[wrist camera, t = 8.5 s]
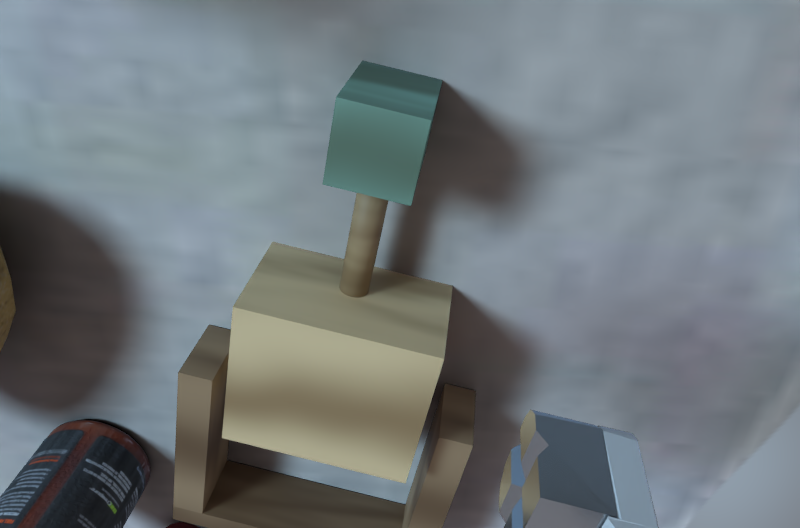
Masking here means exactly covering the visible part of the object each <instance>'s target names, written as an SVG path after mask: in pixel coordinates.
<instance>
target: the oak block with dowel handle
mask: <svg viewBox="0 0 800 528" xmlns="http://www.w3.org/2000/svg"><path fill="white" fill-rule="evenodd" d="M442 81H443V80H440V79H436V78H432V77H427V76H423V75H419V74H415V73H411V72H407V71H403V70H399V69H395V68H391V67H386V66H382V65H378V64H374V63H370V62H366V61H362V62H361V63H360V65H359V66H358V68H357V69H356V70H355V72H354V73H353V75H352V76H351V77H350V79H349V80H348V81H347V83H346V84H345V86H344V87H343V88H342V90H341V91H340V93H339V94H338V95H337V97H336V102H335V108H334V115H333V121H332V128H331V134H330V140H329V147H328V153H327V160H326V166H325V173H324V179H323V185H327V186H331V187H336V188H340V189H344V190H348V191H352V192H356V193H357V195H356V200H355V206H354V211H353V216H352V222H351V227H350V232H349V238H348V243H347V248H346V254H345V259H341V258H337V257H333V256H329V255H325V254H320V253H316V252H312V251H308V250H304V249H300V248H296V247H292V246H288V245H284V244H280V243H276V242H272V244H271V245H270V247H269V249H268V250H267V252H266V254H265V255H264V257H263V259H262V260H261V262H260V263H259V265H258V267H257V268H256V270H255V272H254V273H253V275H252V277H251V278H250V280H249V281H248V283H247V285H246V286H245V288H244V290H243V291H242V293H241V295H240V296H239V298H238V299H237V301H236V303H235V304H234V306H233V312H232V323H231V335H230V347H229V359H228V371H227V383H226V395H225V407H224V419H223V431H222V438H224V439H228V440H232V441H236V442H240V443H244V444H248V445H252V446H256V447H260V448H264V449H268V450H272V451H276V452H280V453H284V454H288V455H292V456H296V457H300V458H305V459H309V460H313V461H317V462H321V463H325V464H329V465H333V466H337V467H341V468H345V469H349V470H353V471H357V472H361V473H365V474H369V475H373V476H377V477H381V478H385V479H389V480H393V481H397V482H401V483H406V480H407V477H408V474H409V471H410V467H411V464H412V461H413V458H414V455H415V451H416V448H417V445H418V442H419V439H420V435H421V432H422V429H423V426H424V423H425V419H426V416H427V413H428V410H429V407H430V403H431V400H432V397H433V394H434V391H435V387H436V384H437V381H438V378H439V375H440V371H441V368H442V365H443V362H444V358H445V349H446V341H447V332H448V324H449V315H450V306H451V298H452V289H453V286H451V285H447V284H443V283H439V282H435V281H431V280H426V279H422V278H418V277H414V276H410V275H406V274H402V273H398V272H394V271H390V270H386V269H382V268H378V267H374V264H375V259H376V255H377V250H378V246H379V241H380V236H381V232H382V227H383V223H384V218H385V213H386V209H387V204H388V200H389V201H393V202H397V203H401V204H405V205H409V206H411V204H412V200H413V197H414V193H415V189H416V185H417V182H418V178H419V174H420V171H421V167H422V163H423V159H424V156H425V151H426V147H427V143H428V139H429V135H430V131H431V126H432V122H433V118H434V114H435V110H436V106H437V101H438V97H439V93H440V89H441V85H442Z"/></svg>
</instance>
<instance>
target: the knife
mask: <svg viewBox="0 0 800 528" xmlns="http://www.w3.org/2000/svg"><path fill="white" fill-rule="evenodd" d="M166 528H207V527H203V526H199V525H195V524H190V523H186V522H177V523H174V524H171V525H169V526H167V527H166Z"/></svg>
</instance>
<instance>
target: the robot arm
mask: <svg viewBox="0 0 800 528" xmlns="http://www.w3.org/2000/svg"><path fill="white" fill-rule="evenodd" d="M520 443H521V444H520V445H518V446H516V447H514V448H512V449H511V451H510V453H509V456H508V458H507V461H506V464H505V467H504V471H503V475H502V479H501V484H500V493H499V513H500V515H501V516H502V518H503V519H504V521H505V523H506V524H505V526H504V528H659V527H658V522H657V518H656V514H655V510H654V506H653V502H652V498H651V494H650V490H649V485H648V481H647V477H646V473H645V469H644V465H643V461H642V457H641V453H640V448H639V444H638V440H637V438H636V437H635V436H634V434H633V433H629V432H625V431H621V430H616V429H612V428H608V427H603V426H595V425H592V424H588V423H584V422H580V421H576V420H572V419H567V418H563V417H559V416H555V415H551V414H547V413H543V412H538V411H534V410H530V411H529V412H528V414H527V415H526V416H525V419H524V421H523V423H522V425H521V428H520Z"/></svg>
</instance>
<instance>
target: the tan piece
mask: <svg viewBox="0 0 800 528" xmlns="http://www.w3.org/2000/svg"><path fill="white" fill-rule="evenodd" d="M230 335H231V330H228V329H224V328H220V327H216V326H212V325H209V326H208V327H207V329H206V330H205V332H204V333H203V335H202V336H201V338H200V339H199V341H198V343H197V344H196V346H195V347H194V349H193V350H192V352H191V353H190V355H189V357H188V358H187V360H186V361H185V363H184V364H183V366H182V367H181V369H180V371H179V372H178V394H177V420H176V447H175V473H174V500H173V519H175V520H179V521H183V522H187V523H191V524H195V525H199V526H203V527H207V528H442V526H443V524H444V521H445V519H446V516H447V513H448V511H449V508H450V505H451V503H452V500H453V498H454V495H455V492H456V490H457V487H458V484H459V482H460V479H461V477H462V474H463V471H464V469H465V466H466V463H467V461H468V458H469V456H470V453H471V450H472V448H473V440H474V418H475V397H476V391H474V390H470V389H466V388H462V387H458V386H454V385H450V384H445V385H444V388H443V391H442V394H441V397H440V400H439V403H438V406H437V409H436V412H435V415H434V419H433V422H432V425H431V428H430V431H429V434H428V437H427V440H426V443H425V446H424V449H423V452H422V455H421V459H420V462H419V465H418V468H417V471H416V474H415V477H414V480H413V483H412V486H411V489H410V492H409V495H408V498H407V502H406V505H404V504H400V503H396V502H392V501H388V500H384V499H380V498H376V497H372V496H368V495H364V494H360V493H356V492H352V491H348V490H344V489H340V488H336V487H332V486H328V485H324V484H320V483H316V482H312V481H308V480H304V479H300V478H296V477H292V476H288V475H284V474H280V473H276V472H272V471H268V470H264V469H260V468H256V467H252V466H248V465H244V464H240V463H236V462H232V461H228V460H227V456H228V446H229V440H228V439H224V438H222V431H223V419H224V407H225V395H226V383H227V371H228V359H229V347H230Z"/></svg>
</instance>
